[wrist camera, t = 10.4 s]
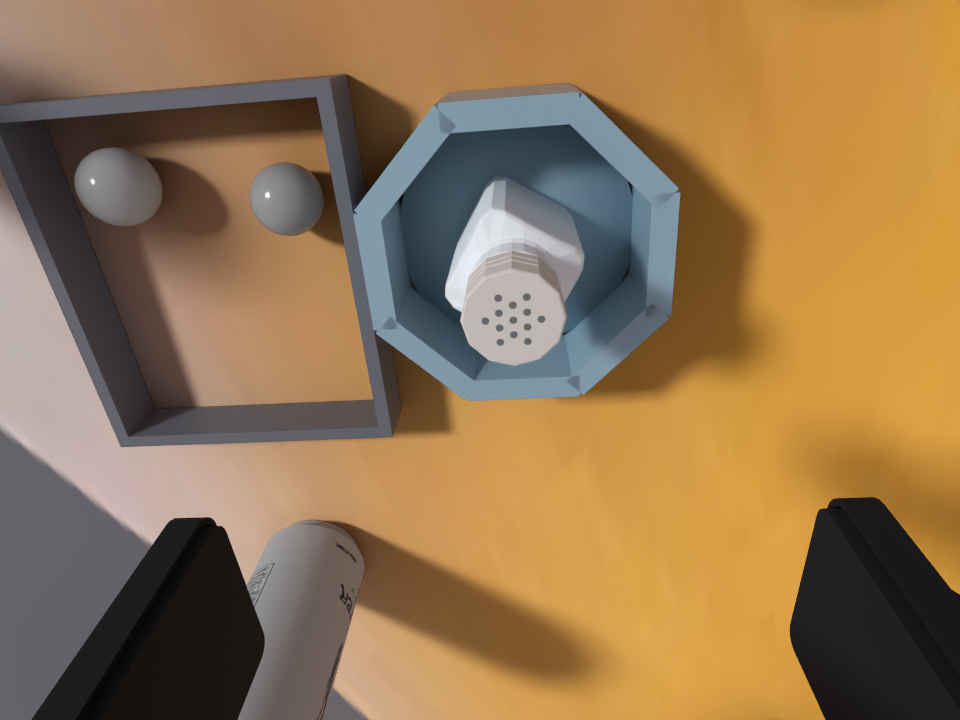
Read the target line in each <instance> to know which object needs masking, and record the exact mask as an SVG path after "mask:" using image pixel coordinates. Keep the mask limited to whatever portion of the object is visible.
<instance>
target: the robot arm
mask: <svg viewBox="0 0 960 720" xmlns="http://www.w3.org/2000/svg"><path fill="white" fill-rule="evenodd" d="M790 637H791V642H792V646H793V649H794V652H795V654H796V656H797V658H798V660H799V663H800V665H801V667H802V669H803V671H804V674H805V676H806V678H807V680H808V682H809V684H810V687H811V689H812V691H813V693H814V695H815V698H816V700H817V702H818V704H819V706H820V709H821V711H822V713H823V715H824V717H825V719H826V720H960V595H959V594H958V593H956V592H954V591H953V590H951V589H950V587H949V586H948V585H947V583H946V582H945V581H944V580H943V578H942V577H941V576H940V575H939V573H938V572H937V571H936V569H935V568H934V567H933V566H932V564H931V563H930V562H929V561H928V559H927V558H926V557H925V555H924V554H923V553H922V552H921V550H920V549H919V548H918V547H917V545H916V544H915V543H914V542H913V540H912V539H911V538H910V536H909V535H908V534H907V533H906V531H905V530H904V529H903V528H902V526H901V525H900V524H899V522H898V521H897V520H896V519H895V517H894V516H893V515H892V514H891V512H890V511H889V510H888V509H887V507H886V506H885V505H884V504H883V503H882V502H881V501H880V500H879V499H877V498H875V497H868V498H837V499H833V500H832V501H831V502H830V503H829V505H828V508H827V509H820V510H819V511H818V514H817V517H816V521H815V525H814V529H813V533H812V537H811V541H810V546H809V550H808V554H807V558H806V562H805V566H804V570H803V574H802V578H801V582H800V587H799V591H798V595H797V599H796V603H795V607H794V611H793V615H792V619H791V623H790ZM264 647H265V636H264V632H263V629H262V627H261V624H260V621H259V618H258V616H257V613H256V610H255V608H254V605H253V602H252V600H251V597H250V594H249V592H248V589H247V586H246V584H245V581H244V578H243V576H242V573H241V570H240V568H239V565H238V562H237V559H236V557H235V554H234V551H233V549H232V546H231V543H230V541H229V538H228V535H227V533H226V531H225V529H224V528H223V527H222V526H217V525H216V523H215V521H214V520H213V519H212V518H207V517H205V518H175V519H173V520H171V521H170V522H169V523H168V524H167V525H166V526H165V528H164V529H163V531H162V532H161V533H160V535H159V536H158V538H157V539H156V541H155V542H154V544H153V545H152V546H151V548H150V549H149V551H148V552H147V554H146V555H145V557H144V558H143V559H142V561H141V562H140V564H139V565H138V567H137V568H136V570H135V571H134V572H133V574H132V575H131V577H130V578H129V580H128V581H127V583H126V584H125V586H124V587H123V588H122V590H121V591H120V593H119V594H118V596H117V597H116V598H115V600H114V601H113V603H112V604H111V606H110V607H109V609H108V610H107V611H106V613H105V615H104V616H103V618H102V619H101V620H100V621H99V623H98V624H97V626H96V627H95V629H94V630H93V632H92V633H91V634H90V636H89V637H88V639H87V640H86V642H85V643H84V645H83V646H82V647H81V649H80V650H79V652H78V653H77V655H76V656H75V658H74V659H73V660H72V662H71V663H70V665H69V666H68V668H67V669H66V671H65V672H64V673H63V675H62V676H61V678H60V679H59V681H58V682H57V684H56V685H55V687H54V688H53V689H52V691H51V692H50V694H49V695H48V697H47V698H46V699H45V701H44V702H43V704H42V705H41V707H40V708H39V710H38V711H37V713H36V714H35V715H34V717H33V718H32V720H238V718H239V715H240V712H241V710H242V707H243V705H244V702H245V700H246V697H247V695H248V692H249V690H250V687H251V685H252V682H253V679H254V677H255V674H256V672H257V669H258V667H259V664H260V662H261V659H262V656H263V653H264Z"/></svg>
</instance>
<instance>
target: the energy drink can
mask: <svg viewBox="0 0 960 720" xmlns="http://www.w3.org/2000/svg"><path fill="white" fill-rule="evenodd" d="M364 572H365V564H364V560H363V557H362V555H361V553H360V551H359V549H358V546H357V544H356V542H355V540H354V539H353V538H352V537H351V535H349V534H348V533H347V532H346V531H345V530H343V529H342V528H340V527H338V526H336V525H334V524H332V523H328V522H325V521H318V520H306V521H301V522H297V523H295V524H293V525H291V526H289V527H287V528H285V529H282V530H280V531H279V532H277V533H276V534H274V535H273V537H272V538H271V539H270V540H269V542H268V543H267V545H266V547H265V549H264V551H263V553H262V555H261V558H260V560H259V562H258V564H257V566H256V568H255V570H254V572H253V574H252V576H251V578H250V580H249V582H248V584H247V589H248V592H249V594H250V597H251V600H252V602H253V605H254V608H255V610H256V613H257V616H258V618H259V621H260V624H261V627H262V629H263V632H264V636H265V647H264V653H263V656H262V659H261V662H260V664H259V667H258V669H257V672H256V674H255V677H254V679H253V682H252V685H251V687H250V690H249V692H248V695H247V697H246V700H245V702H244V705H243V707H242V710H241V712H240V715H239V718H238V720H323V719H324V716H325V712H326V709H327V705H328V701H329V698H330V694H331V691H332V687H333V684H334V680H335V676H336V673H337V669H338V666H339V662H340V658H341V655H342V651H343V648H344V644H345V640H346V637H347V633H348V630H349V626H350V622H351V619H352V615H353V612H354V608H355V605H356V601H357V597H358V594H359V590H360V587H361V583H362V579H363V576H364Z"/></svg>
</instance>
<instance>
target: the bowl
mask: <svg viewBox="0 0 960 720" xmlns="http://www.w3.org/2000/svg"><path fill="white" fill-rule="evenodd" d="M495 176H500V177H507V178H509V179H511V180H513V181H515V182H517V183H519V184H520V185H522V186H524V187H526V188H528V189H530V190H532V191H534V192H536V193H537V194H539V195H541V196H543V197H545V198H547V199H549V200H551V201H553V202H555V203H556V204H558V205H560V206H562V207H564V208H566V210H567V211H568V212H569V213H570V215H571V216H572V218H573V221H574V224H575V227H576V230H577V234H578V237H579V240H580V243H581V246H582V249H583V252H584V255H585V256H584V265H583V270H582V272H581V274H580V276H579V278H578V279H577V281H576V283H575V285H574V287H573V289H572V290H571V292H570V294H569V295H568V297H567V299H566V301H565V302H564V304H565V309H566V314H567V319H566V322H565V326H564V329H563V332H562V336H561V339H560V342H559V343H558V344H557V345H555V346H554V347H553V348H552V349H551V350H550V351H549V352H548V353H547V354H546V355H545V356H543V357H542V358H541V359H539V360H536V361H532V362H528V363H524V364H521V365H517V366H513V365H508V364H503V363H498V362H493V361H489V360H488V359H486V358H485V357H484V356H483V355H482V354H480V353H479V352H478V351H477V350H475V349H474V348H473V347H472V346H470V345H469V343H468V340H467V338H466V335H465V332H464V330H463V327H462V324H461V322H460V319H461V314H462V312H460V311H458V310H457V309H455V308H454V307H453V306H452V305H451V303H450V302H449V301H448V300H447V298H446V297H445V286H446V282H447V278H448V275H449V271H450V268H451V264H452V260H453V257H454V253H455V249H456V246H457V242H458V240H459V238H460V236H461V234H462V232H463V230H464V228H465V226H466V224H467V222H468V220H469V218H470V216H471V214H472V212H473V210H474V208H475V206H476V204H477V202H478V200H479V198H480V196H481V194H482V192H483V190H484V188H485V186H486V184H487V183H488V182H489V181H490V180H491V179H492V178H494V177H495ZM627 180H628V181H629V182H630V183H631V190H630V187H629V184H628V181H627ZM678 189H679V188H678V187H677V186H676V185H675V184H674V183H673V182H672V181H671V180H670V179H669V178H668V177H667V176H666V175H665V174H664V173H663V172H662V171H661V170H660V169H659V168H658V167H657V166H656V165H655V164H654V163H653V162H652V161H651V160H650V159H649V158H648V157H647V156H646V155H645V154H644V153H643V152H642V151H641V150H640V149H639V148H638V147H637V146H636V145H635V144H634V143H633V142H632V141H631V140H630V139H629V138H628V137H627V136H626V135H625V134H624V133H623V132H622V131H621V130H620V129H619V128H618V127H617V126H616V125H615V124H614V123H613V122H612V121H611V120H610V119H609V118H608V117H607V116H606V115H605V114H604V113H603V112H602V111H601V110H600V109H599V108H598V107H597V106H596V105H595V104H594V103H593V102H592V101H591V100H590V99H589V98H588V97H587V96H586V95H585V94H584V93H582V92H581V91H580V90H579V89H578V88H576V87H575V86H574V85H573V84H572V85H571V84H569V83H561V84H548V85H536V86H524V87H512V88H500V89H487V90H475V91H463V92H451V93H449V94H447V95H445V96H444V97H443V98H442V99H440V100H439V101H438V102H437V103H436V104H435V105H434V106H433V107H432V108H431V110H430V111H429V112H428V114H427V115H426V116H425V118H424V119H423V120H422V121H421V123H420V124H419V125H418V127H417V128H416V129H415V131H414V132H413V133H412V135H411V136H410V137H409V139H408V140H407V141H406V143H405V144H404V145H403V147H402V148H401V149H400V151H399V152H398V153H397V155H396V156H395V157H394V158H393V160H392V161H391V162H390V164H389V165H388V166H387V168H386V169H385V170H384V172H383V173H382V174H381V176H380V177H379V178H378V180H377V181H376V182H375V184H374V185H373V186H372V188H371V189H370V190H369V191H368V193H367V194H366V195H365V197H364V198H363V199H362V201H361V202H360V203H359V205H358V206H357V207H356V209H355V210H354V211H355V213H354V214H353V216H354V222H355V227H356V233H357V239H358V244H359V250H360V256H361V261H362V267H363V273H364V278H365V284H366V290H367V295H368V301H369V307H370V312H371V318H372V324H373V329H374V330H377V332H376V334H377V335H378V336H380V337H381V338H383V339H384V340H385V341H387V342H388V343H389V344H391V345H392V346H393V347H395V348H396V349H397V350H399V351H400V352H401V353H403V354H404V355H405V356H407V357H408V358H409V359H411V360H412V361H413V362H415V363H416V364H417V365H419V366H420V367H421V368H423V369H424V370H425V371H427V372H428V373H429V374H431V375H432V376H433V377H435V378H436V379H437V380H439V381H440V382H441V383H443V384H444V385H445V386H447V387H448V388H449V389H451V390H452V391H453V392H455V393H456V394H457V395H459V396H460V397H461V398H463V399H464V400H465V399H466V398H467V397H468V401H482V400H506V399H530V398H555V397H579V396H580V393H581V394H582V395H584V394H585V393H586V392H587V391H588V390H590V389H591V388H592V387H593V386H594V385H595V384H596V383H597V382H599V381H600V380H601V379H602V378H603V377H604V376H605V375H606V374H608V373H609V372H610V371H611V370H612V369H613V368H614V367H615V366H617V365H618V364H619V363H620V362H621V361H622V360H623V359H624V358H626V357H627V356H628V355H629V354H630V353H631V352H632V351H633V350H635V349H636V348H637V347H638V346H639V345H640V344H641V343H643V342H644V341H645V340H646V339H647V338H648V337H649V336H650V335H652V334H653V333H654V332H655V331H656V330H657V329H658V328H659V327H661V326H662V325H663V324H664V323H665V322H666V321H667V320H668V319H670V318H669V317H668V315H671V313H672V300H673V286H674V273H675V260H676V246H677V233H678V220H679V206H680V192H679V191H678ZM404 191H405V193H404ZM403 193H404V196H403V199H402V205H401V198H400V196H401V195H402V194H403ZM627 269H628V271H627ZM626 271H627V272H626ZM412 282H413V283H412Z"/></svg>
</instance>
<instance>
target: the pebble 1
mask: <svg viewBox="0 0 960 720" xmlns="http://www.w3.org/2000/svg"><path fill="white" fill-rule="evenodd" d="M74 185H75V191H76V194H77V197H78V199H79V201H80V202H81V204H82V205H83V207H84V208H85V209H86V210H87V211H88V212H89V213H90V214H92V215H93V216H94V217H96V218H97V219H99V220H101V221H103V222H105V223H108V224H111V225H115V226H134V225H138V224H141V223H143V222H145V221H147V220H148V219H150V218H151V217H152V216H153V215H154V214H155V213H156V212H157V210H158V209H159V206H160V204H161V201H162V196H163V189H162V183H161V180H160V177H159V175H158V173H157V172H156V170H155V169H154V167H153V166H152V165H151V164H150V163H149V162H148V161H147V160H146V159H145V158H143V157H142V156H140V155H139V154H137V153H135V152H133V151H130V150H127V149H123V148H116V147H108V148H102V149H98V150H96V151H93V152H91V153H90V154H88V155H87V156H86V157H84V159H83V160H82V161H81V162H80V164H79V165H78V167H77V169H76V172H75V177H74Z"/></svg>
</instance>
